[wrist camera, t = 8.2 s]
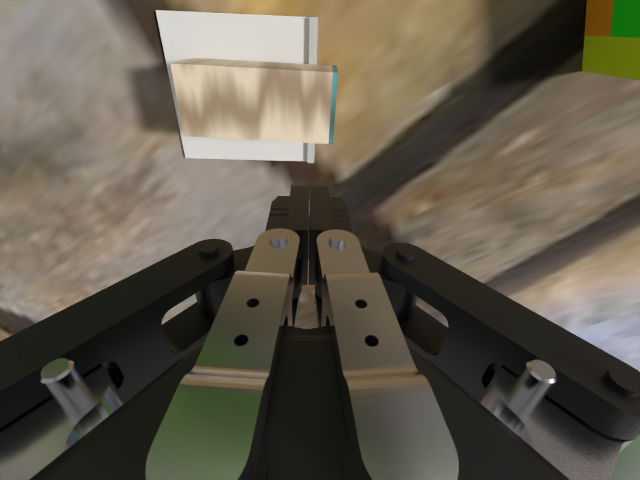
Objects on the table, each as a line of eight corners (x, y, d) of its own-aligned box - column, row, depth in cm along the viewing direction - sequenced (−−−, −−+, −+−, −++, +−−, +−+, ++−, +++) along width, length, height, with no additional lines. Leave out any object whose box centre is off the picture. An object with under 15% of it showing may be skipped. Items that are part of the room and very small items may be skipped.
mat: (156, 10, 30) (153, 10, 29) (317, 17, 30) (318, 17, 30) (186, 157, 37) (184, 159, 37) (314, 160, 38) (314, 162, 37)
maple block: (336, 65, 32) (195, 57, 32) (337, 72, 27) (170, 63, 27) (332, 127, 35) (204, 120, 35) (332, 144, 30) (183, 136, 30)
